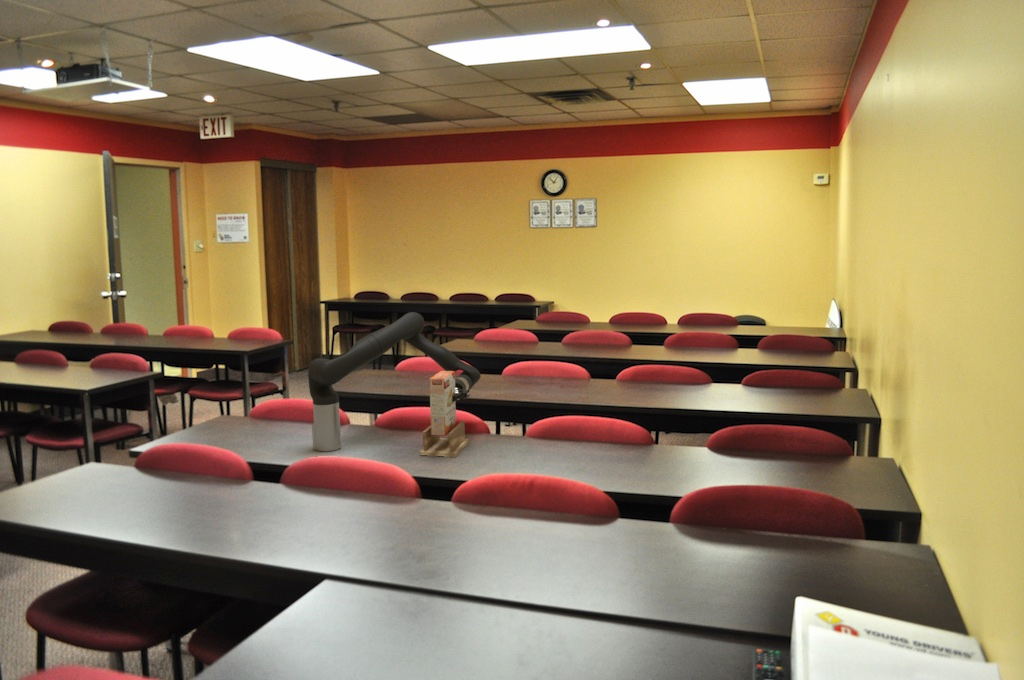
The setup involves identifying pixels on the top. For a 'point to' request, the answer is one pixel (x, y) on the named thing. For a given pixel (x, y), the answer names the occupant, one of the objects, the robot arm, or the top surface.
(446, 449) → the book rack
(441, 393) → the cracker box
